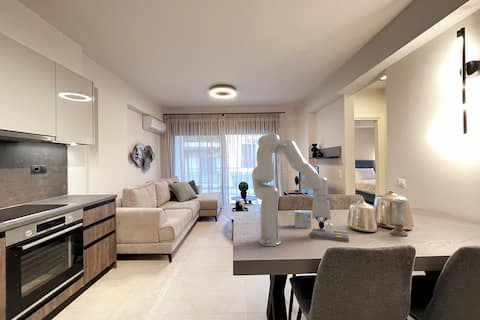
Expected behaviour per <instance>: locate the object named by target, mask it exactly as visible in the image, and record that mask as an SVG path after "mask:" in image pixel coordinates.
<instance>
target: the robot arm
mask: <svg viewBox="0 0 480 320" xmlns="http://www.w3.org/2000/svg"><path fill="white" fill-rule="evenodd" d="M257 145H258V148H257V151H256V166H255V167H254V168H253V170H252V173H251V178H252V185H253V191H254V195H255V197H256V198H257V199H258V200H260V201H261V203H260V211H259V212H260V237H259V238H258V240H257V242H258V244H259V245H262V246H264V247H276V246H279V245H281V244H282V240H281V238H279V217H278V216H279V213H278V212H279V209H278V208H279V206H278V205H279V200H280V191H279V190H278V188H277V187H275V186H274V185H271V184H269V183H271V182H273V180H274V179H275V170H274V163H273V153H274V154H277V155H284V157H285V158H286V160H287V161H288V163H289V165H290V166H291V168H292V169H293V170H295V171H297V172H298V173H301V174H302V175H303V176H304V177H303V178H302V179H301V180H300V186H301V188H302V189H304V190H307V191H312V192H314V194H313V195H314V199H313V200H312V208H311V219H315V220H316V221H317V222H318V227H319V229H325V222H326V221H331V220H332V219H331V218H332V217H331V203H330V199H331V196H330V195H329V194H328V193H329V191H328V190H329V189H328V188H329V187H328V179H327V177H325V176H323V177H322V176H320V175H319V173H318V171H317V170H316V169H315V168H314V167H313V166H312V164H310V163H309V162H308V161H307V160H306V159H305V158H304V156H303V155H302V153H301V150H300V149H299V147H298V146H297V144H296V142H295V141H294V140H293V139H291V138H289V139H282V140H281V138H280V136H279V135H278V134H277V133H273V132H272V133H267V134H264V135H262V136H260V137H259V139H258V141H257ZM321 218H322V220H321Z"/></svg>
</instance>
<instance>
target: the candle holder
mask: <svg viewBox="0 0 480 320" xmlns="http://www.w3.org/2000/svg"><path fill="white" fill-rule="evenodd" d="M390 202H391V203H394V206H395V207H394V210H395V216H394V217H393V221H392V222H393V223H394V225H393V226H394V227H395V228H393V229H392V230H390V232H389V233H390V234H391V235H393V236H398V237H408V236H409V233H408V232H407V231H406V230H405V229H403V228H404V224H405V219H404V218H403V215H402V210H403V208H402V206H403V204H406V203H407V201H406V200H404V199H391V200H390Z"/></svg>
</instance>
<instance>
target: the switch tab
mask: <svg viewBox="0 0 480 320" xmlns="http://www.w3.org/2000/svg"><path fill="white" fill-rule="evenodd" d="M324 229H325V232H332V233H333V230H334V224H333V223H331V222H330V221H328V222H326V223H324Z"/></svg>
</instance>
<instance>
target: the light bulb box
mask: <svg viewBox="0 0 480 320" xmlns="http://www.w3.org/2000/svg"><path fill="white" fill-rule="evenodd" d="M293 219H294V220H293V221H294V223H293V224H294V227H295V229H312V211H310V210H309V209H308V210H305V209H304V210H303V209H301V210H300V209H299V210H295V209H294V210H293Z"/></svg>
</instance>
